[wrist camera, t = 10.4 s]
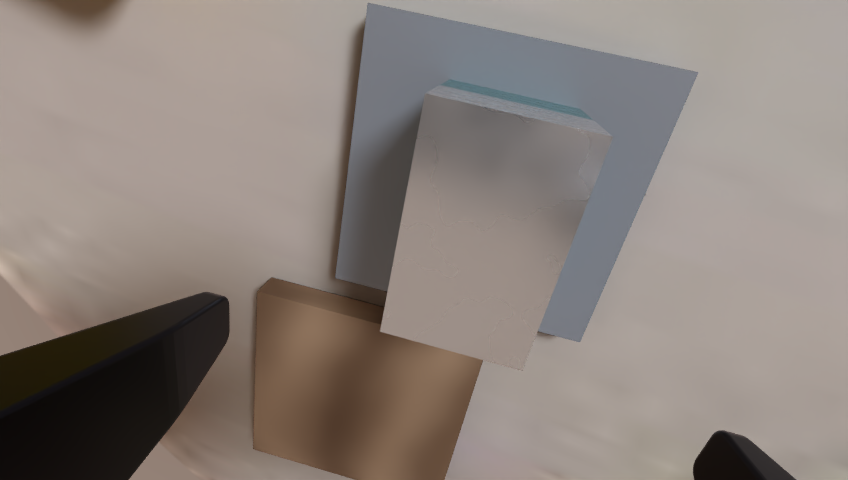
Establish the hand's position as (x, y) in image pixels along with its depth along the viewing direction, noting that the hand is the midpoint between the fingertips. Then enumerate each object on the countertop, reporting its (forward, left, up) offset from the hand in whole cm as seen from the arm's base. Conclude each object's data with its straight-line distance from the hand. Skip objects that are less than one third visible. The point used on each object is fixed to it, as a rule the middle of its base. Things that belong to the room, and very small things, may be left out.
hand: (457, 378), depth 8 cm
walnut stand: (+4, +14, -13) cm, 19 cm away
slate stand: (0, 0, -13) cm, 13 cm away
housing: (0, 0, -11) cm, 11 cm away
